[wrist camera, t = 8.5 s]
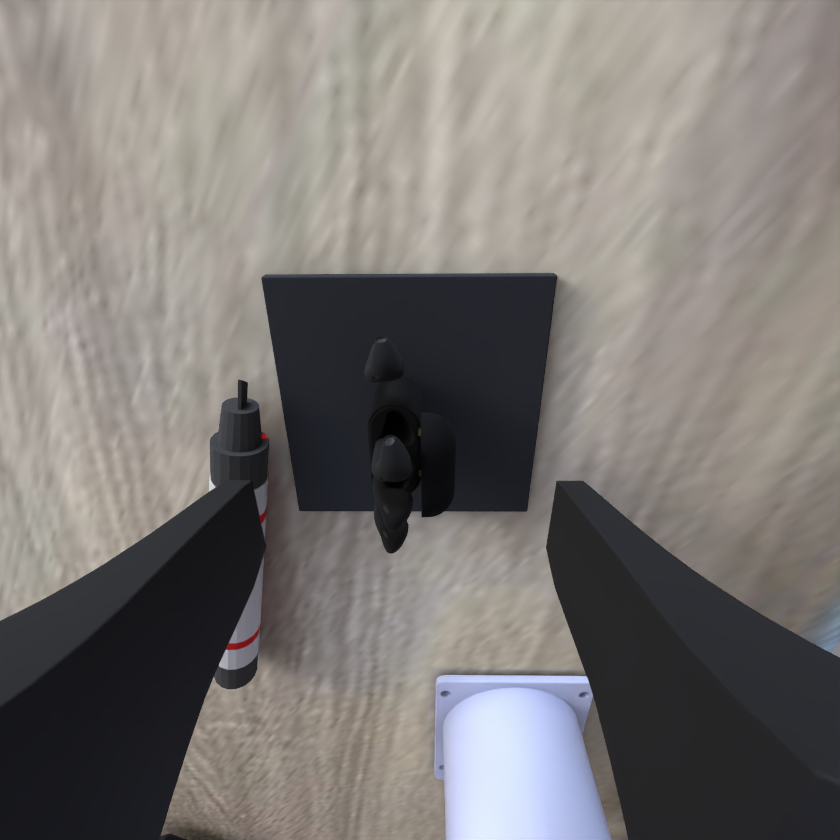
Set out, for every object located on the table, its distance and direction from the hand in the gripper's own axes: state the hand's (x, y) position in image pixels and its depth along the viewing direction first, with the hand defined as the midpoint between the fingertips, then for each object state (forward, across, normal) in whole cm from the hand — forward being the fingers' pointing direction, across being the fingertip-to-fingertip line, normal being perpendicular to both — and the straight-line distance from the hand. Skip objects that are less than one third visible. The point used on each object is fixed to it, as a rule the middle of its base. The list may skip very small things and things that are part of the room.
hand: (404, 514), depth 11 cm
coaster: (+6, 0, 0) cm, 6 cm away
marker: (+6, +7, +6) cm, 11 cm away
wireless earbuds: (+6, 0, 0) cm, 6 cm away
